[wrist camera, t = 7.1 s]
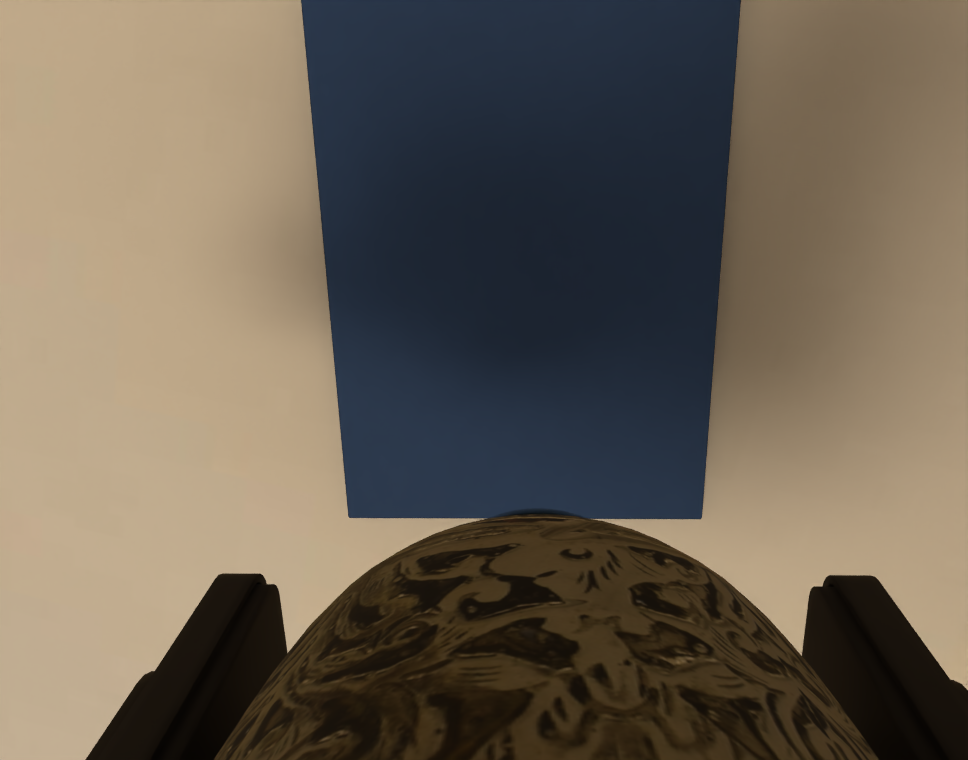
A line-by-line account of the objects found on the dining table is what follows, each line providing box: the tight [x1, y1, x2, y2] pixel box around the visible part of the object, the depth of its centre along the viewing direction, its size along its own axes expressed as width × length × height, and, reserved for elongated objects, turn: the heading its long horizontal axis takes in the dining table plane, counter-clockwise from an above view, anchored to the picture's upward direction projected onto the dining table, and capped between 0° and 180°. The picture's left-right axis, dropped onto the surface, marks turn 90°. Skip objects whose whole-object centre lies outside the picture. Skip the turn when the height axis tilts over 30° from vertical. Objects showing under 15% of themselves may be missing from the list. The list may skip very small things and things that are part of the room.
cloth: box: [301, 0, 741, 519], centre depth 24 cm, size 12×22×1 cm, turn 1°
